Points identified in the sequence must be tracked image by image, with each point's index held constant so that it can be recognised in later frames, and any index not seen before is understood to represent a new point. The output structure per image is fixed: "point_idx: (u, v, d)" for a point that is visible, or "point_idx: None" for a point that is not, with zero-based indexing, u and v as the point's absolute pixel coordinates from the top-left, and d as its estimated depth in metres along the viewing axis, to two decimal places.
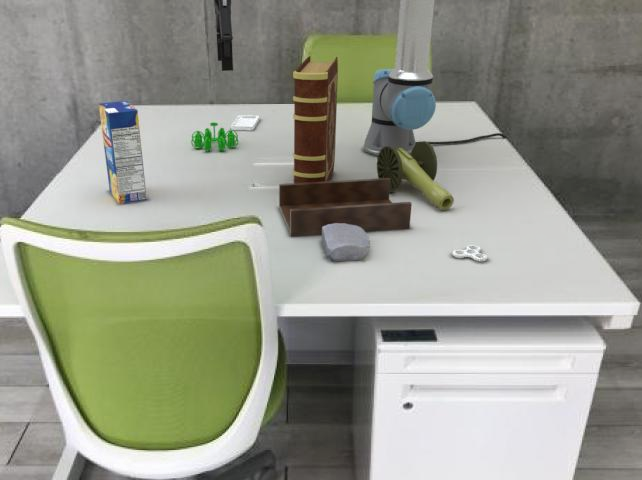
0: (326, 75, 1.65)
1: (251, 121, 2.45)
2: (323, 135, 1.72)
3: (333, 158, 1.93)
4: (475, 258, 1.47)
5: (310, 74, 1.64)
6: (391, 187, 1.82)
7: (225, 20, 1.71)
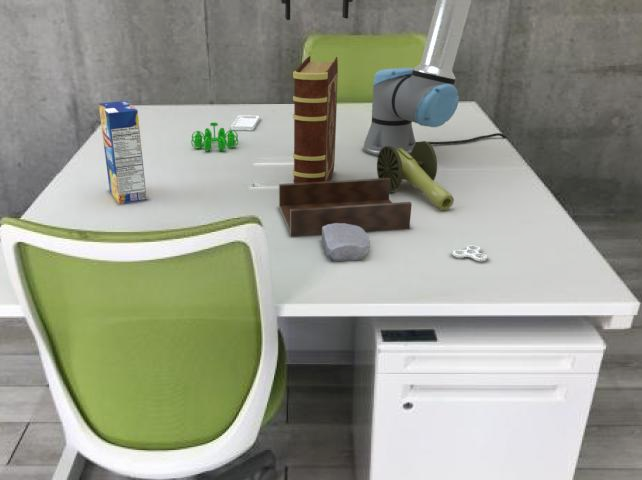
0: (326, 75, 1.65)
1: (251, 121, 2.45)
2: (323, 135, 1.72)
3: (333, 158, 1.93)
4: (475, 258, 1.47)
5: (310, 74, 1.64)
6: (391, 187, 1.82)
7: None
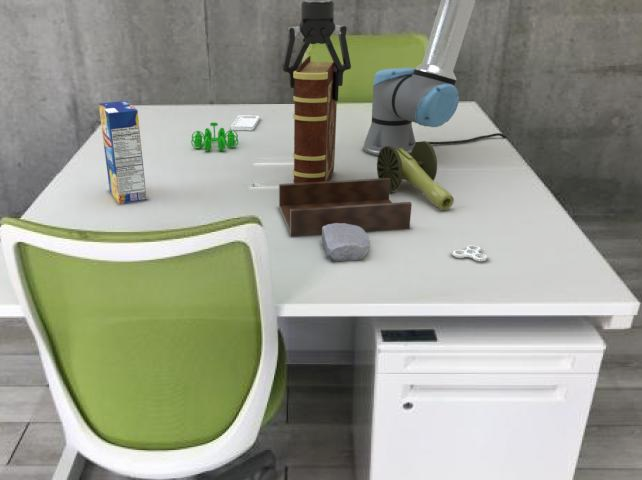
0: (326, 75, 1.65)
1: (251, 121, 2.45)
2: (323, 135, 1.72)
3: (333, 158, 1.93)
4: (475, 258, 1.47)
5: (310, 74, 1.64)
6: (391, 187, 1.82)
7: (286, 51, 1.71)
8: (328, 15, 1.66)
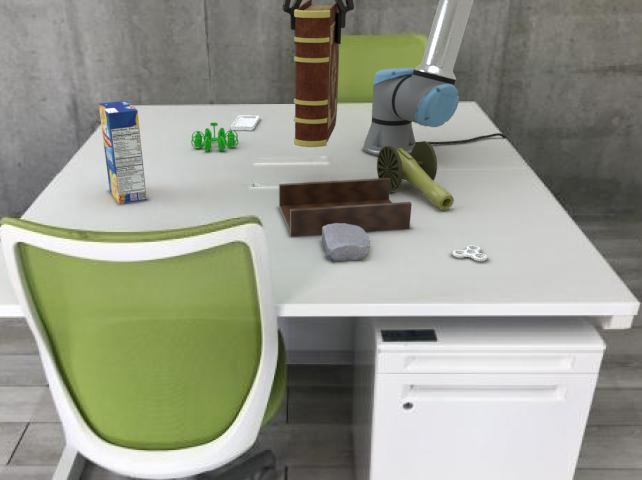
0: (328, 13, 1.59)
1: (251, 121, 2.45)
2: (325, 78, 1.66)
3: (335, 108, 1.86)
4: (475, 258, 1.47)
5: (312, 12, 1.58)
6: (391, 187, 1.82)
7: None
8: None
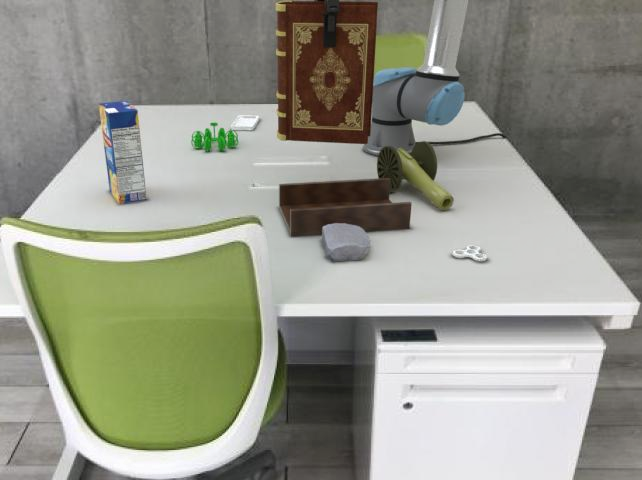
0: (279, 7, 1.59)
1: (251, 121, 2.45)
2: (281, 72, 1.66)
3: (355, 123, 1.68)
4: (475, 258, 1.47)
5: (276, 3, 1.62)
6: (391, 187, 1.82)
7: None
8: None
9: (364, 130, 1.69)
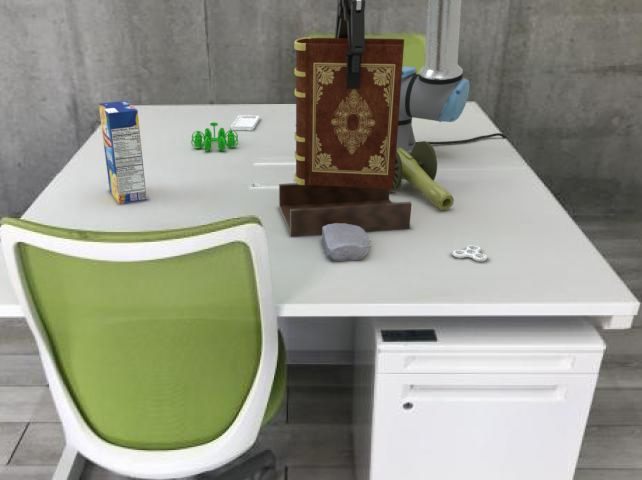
0: (299, 46, 1.48)
1: (251, 121, 2.45)
2: (300, 114, 1.55)
3: (379, 168, 1.57)
4: (475, 258, 1.47)
5: None
6: None
7: None
8: None
9: (389, 175, 1.58)
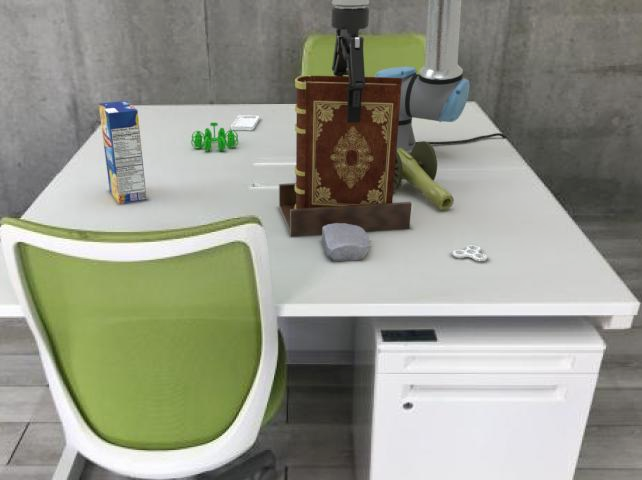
0: (300, 85, 1.52)
1: (251, 121, 2.45)
2: (300, 149, 1.59)
3: (377, 201, 1.61)
4: (475, 258, 1.47)
5: (295, 79, 1.55)
6: None
7: None
8: (336, 23, 1.45)
9: None
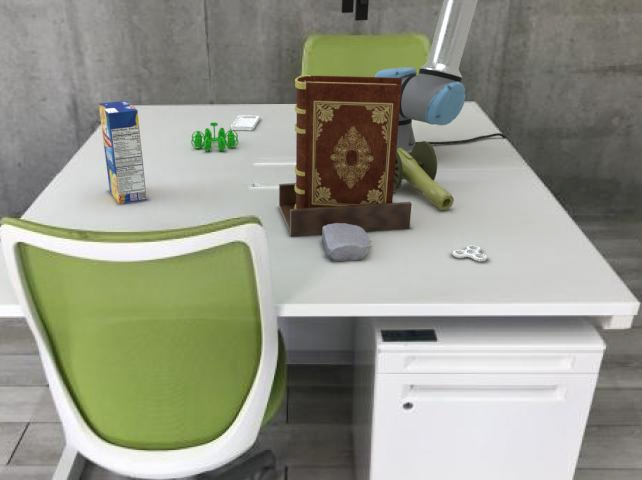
0: (300, 85, 1.52)
1: (251, 121, 2.45)
2: (300, 149, 1.59)
3: (377, 201, 1.61)
4: (475, 258, 1.47)
5: (295, 79, 1.55)
6: None
7: None
8: None
9: None
